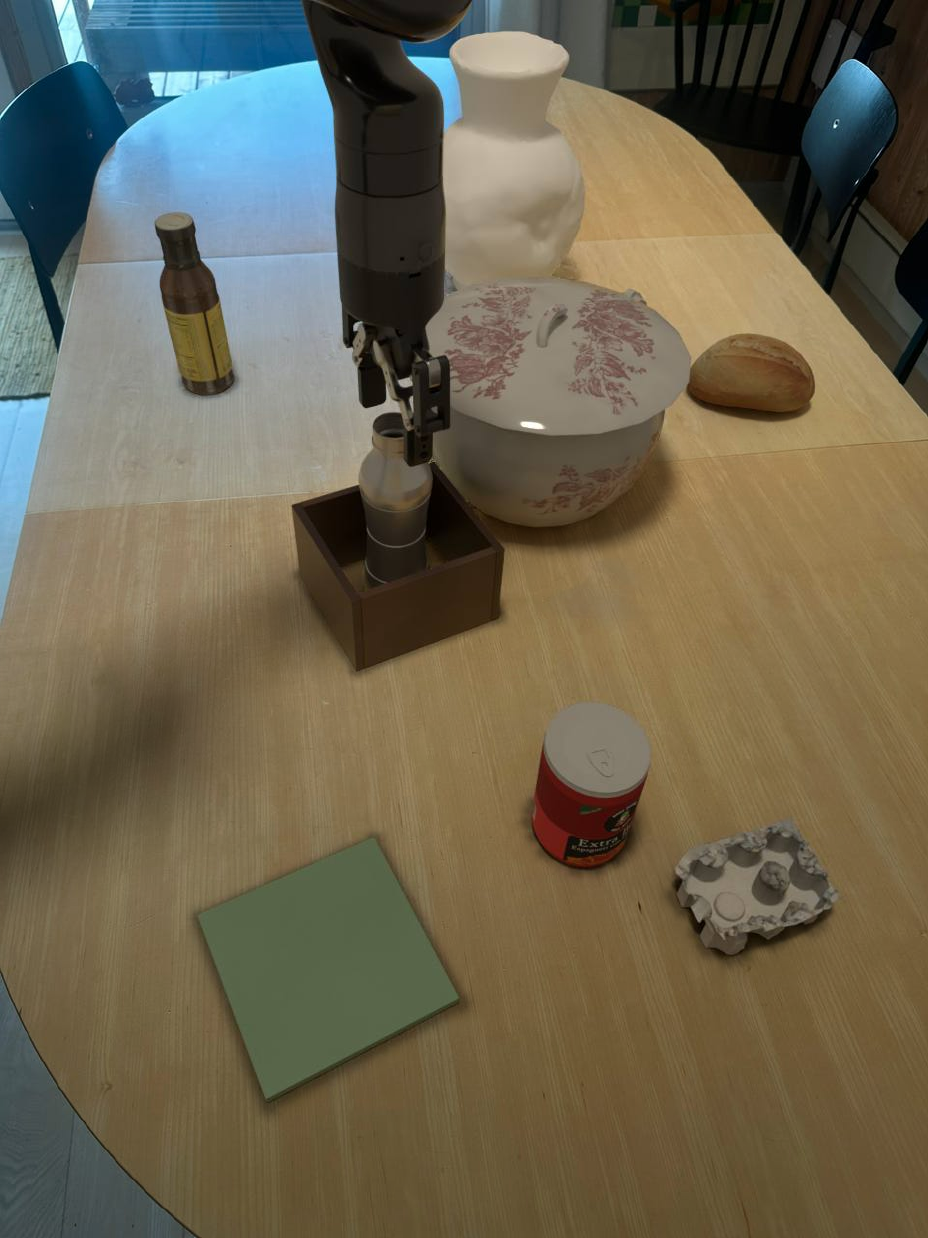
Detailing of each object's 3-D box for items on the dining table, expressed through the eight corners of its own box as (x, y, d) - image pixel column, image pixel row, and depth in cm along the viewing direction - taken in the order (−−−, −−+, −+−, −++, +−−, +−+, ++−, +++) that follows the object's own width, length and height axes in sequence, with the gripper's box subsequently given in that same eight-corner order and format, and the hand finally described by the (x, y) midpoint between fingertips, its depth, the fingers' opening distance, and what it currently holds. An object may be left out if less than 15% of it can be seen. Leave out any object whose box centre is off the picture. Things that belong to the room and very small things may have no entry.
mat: (266, 1103, 62) (265, 1099, 62) (198, 919, 70) (196, 914, 70) (459, 1002, 67) (459, 998, 66) (374, 841, 75) (374, 836, 75)
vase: (389, 287, 132) (384, 42, 110) (500, 240, 143) (517, 9, 121) (482, 345, 124) (498, 91, 101) (594, 291, 134) (630, 50, 112)
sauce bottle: (220, 361, 119) (193, 200, 104) (243, 386, 115) (218, 223, 101) (171, 377, 116) (136, 213, 101) (193, 403, 113) (160, 238, 98)
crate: (356, 671, 86) (351, 602, 80) (299, 574, 94) (291, 504, 88) (498, 618, 92) (505, 548, 85) (432, 530, 99) (434, 461, 93)
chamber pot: (432, 585, 94) (436, 407, 79) (388, 418, 112) (384, 247, 97) (702, 552, 99) (755, 377, 84) (618, 397, 117) (649, 230, 102)
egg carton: (709, 966, 69) (722, 942, 66) (661, 875, 74) (671, 848, 71) (835, 922, 72) (853, 897, 69) (782, 837, 77) (796, 809, 74)
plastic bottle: (425, 568, 96) (427, 397, 81) (435, 618, 91) (440, 447, 76) (360, 574, 95) (350, 403, 80) (367, 625, 90) (358, 453, 76)
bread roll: (811, 432, 114) (833, 374, 108) (683, 416, 115) (697, 357, 109) (805, 386, 120) (825, 329, 114) (684, 371, 121) (698, 313, 115)
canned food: (569, 888, 73) (589, 811, 65) (510, 808, 78) (521, 727, 69) (647, 841, 76) (676, 762, 68) (586, 767, 80) (606, 685, 72)
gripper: (301, 207, 70) (318, 397, 82) (385, 300, 61) (390, 497, 73) (395, 189, 72) (398, 376, 84) (488, 276, 64) (477, 469, 76)
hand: (394, 432), depth 79 cm, fingers open, 8 cm apart
